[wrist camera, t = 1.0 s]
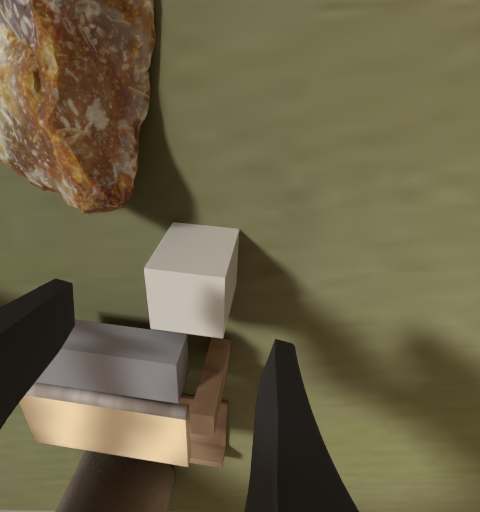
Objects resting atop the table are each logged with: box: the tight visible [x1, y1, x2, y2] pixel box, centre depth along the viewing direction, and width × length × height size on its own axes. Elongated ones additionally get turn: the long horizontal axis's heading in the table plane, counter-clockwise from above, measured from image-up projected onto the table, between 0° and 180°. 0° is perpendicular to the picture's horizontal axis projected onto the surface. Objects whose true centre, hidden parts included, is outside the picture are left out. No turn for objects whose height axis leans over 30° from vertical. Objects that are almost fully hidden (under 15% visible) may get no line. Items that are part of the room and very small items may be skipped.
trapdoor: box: [19, 320, 191, 467], centre depth 24 cm, size 11×10×3 cm
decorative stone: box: [0, 0, 156, 215], centre depth 16 cm, size 10×4×15 cm
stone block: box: [144, 222, 239, 338], centre depth 21 cm, size 4×4×5 cm
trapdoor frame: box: [179, 337, 231, 468], centre depth 28 cm, size 15×14×6 cm
